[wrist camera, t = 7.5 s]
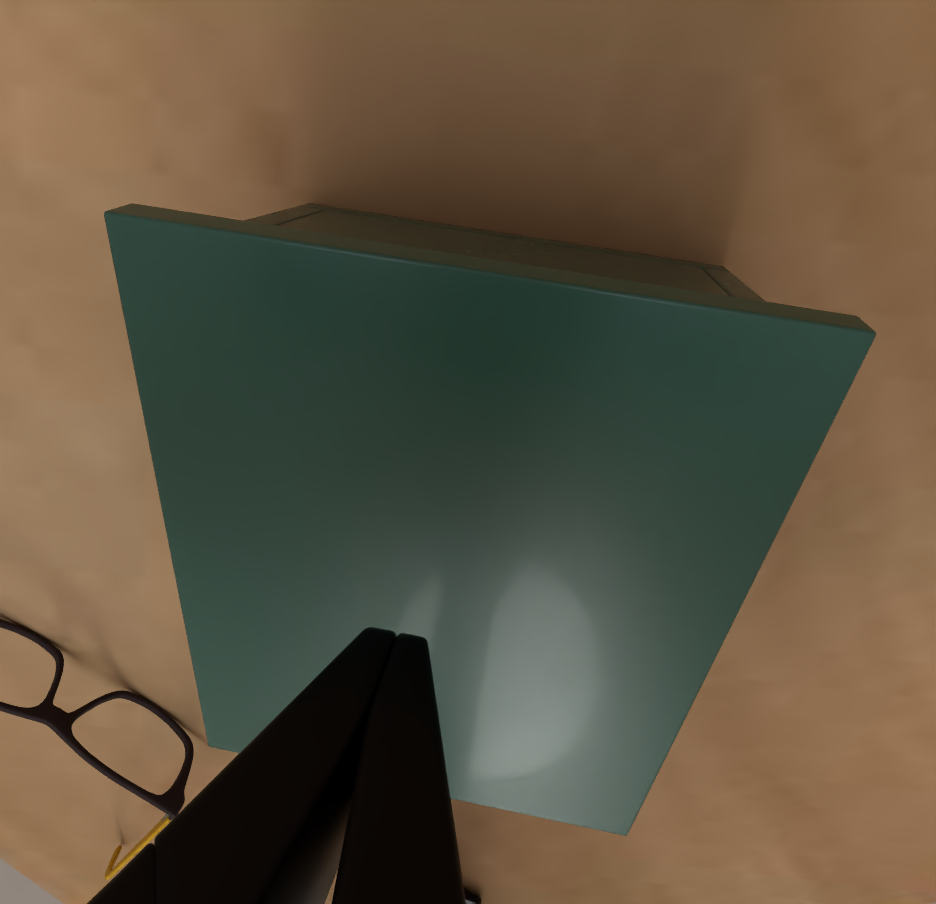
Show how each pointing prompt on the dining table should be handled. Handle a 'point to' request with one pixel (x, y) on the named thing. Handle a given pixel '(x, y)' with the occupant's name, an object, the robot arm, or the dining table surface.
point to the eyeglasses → (62, 727)
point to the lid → (468, 484)
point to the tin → (512, 248)
